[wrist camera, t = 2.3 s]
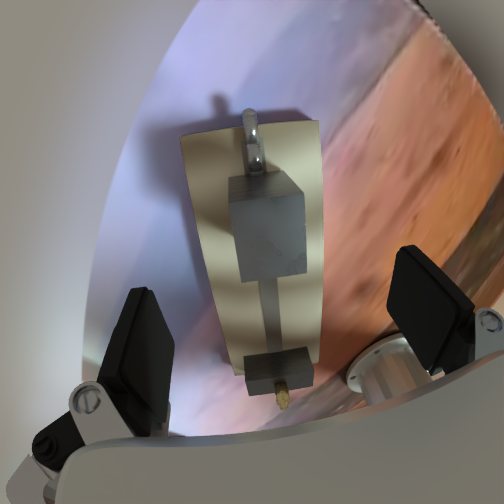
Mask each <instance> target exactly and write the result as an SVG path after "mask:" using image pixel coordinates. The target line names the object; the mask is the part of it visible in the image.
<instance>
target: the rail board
mask: <svg viewBox="0 0 504 504" xmlns="http://www.w3.org/2000/svg"><path fill="white" fill-rule="evenodd" d="M258 129H259V138H260V146H261V155H262V163H263V172H272V171H281V170H284V171H285V173H286V174H287V175H288V176H289V177H290V178H291V179H292V180H293V181H294V182H295V183H296V184H297V186H298V187H299V188H300V189H301V190H302V191H303V192H304V196H305V216H306V242H307V273H305V274H299V275H292V276H286V277H279V278H273V279H266V280H259V281H252V282H245V283H241V278H240V272H239V266H238V260H237V254H236V248H235V242H234V236H233V230H232V224H231V218H230V212H229V206H228V177H234V176H241V175H248V174H250V173H249V168H248V160H247V152H246V144H245V137H244V129H243V126H238V127H231V128H224V129H218V130H211V131H206V132H200V133H194V134H189V135H184V136H181V137H179V138H180V143H181V149H182V155H183V160H184V166H185V171H186V176H187V181H188V186H189V191H190V196H191V201H192V206H193V211H194V216H195V220H196V225H197V230H198V234H199V239H200V243H201V248H202V252H203V256H204V261H205V265H206V269H207V273H208V277H209V281H210V286H211V290H212V294H213V298H214V301H215V305H216V309H217V313H218V317H219V321H220V324H221V328H222V332H223V336H224V339H225V343H226V346H227V350H228V354H229V357H230V361H231V364H232V368H233V371H234V374H235V376H237V375H245V371H244V359H243V356H249V355H256V354H263V353H274V352H281V351H283V350H289V349H294V348H300V347H305V346H307V349H308V352H309V355H310V359H311V362H312V364H314V363H318V361H319V349H320V335H321V318H322V297H323V259H324V221H323V183H322V161H321V145H320V131H319V121H318V120H301V121H286V122H274V123H264V124H258Z"/></svg>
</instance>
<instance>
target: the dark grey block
mask: <svg viewBox="0 0 504 504" xmlns="http://www.w3.org/2000/svg"><path fill="white" fill-rule="evenodd" d="M242 122H243V129H244V137H245V144H246V152H247V160H248V168H249V173H250V174H248V175H241V176H234V177H228V206H229V212H230V218H231V224H232V230H233V236H234V242H235V248H236V254H237V260H238V266H239V272H240V278H241V283H245V282H252V281H259V280H266V279H273V278H279V277H286V276H292V275H299V274H305V273H307V242H306V216H305V196H304V192H303V191H302V190H301V189H300V188H299V187H298V186H297V184H296V183H295V182H294V181H293V180H292V179H291V178H290V177H289V176H288V175H287V174H286V173H285V171H284V170H281V171H272V172H263V163H262V155H261V146H260V138H259V129H258V121H257V114H256V111H255V110H254V109H252V108H247V109H245V110H244V111H243V112H242Z"/></svg>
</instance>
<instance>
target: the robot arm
mask: <svg viewBox="0 0 504 504" xmlns="http://www.w3.org/2000/svg"><path fill="white" fill-rule="evenodd" d="M386 306H387V311H388V312H389V314H390V316H391V317H392V319H393V320H394V322H395V323H396V325H397V326H398V328H399V329H400V331H401V333H398V334H394V335H391V336H388V337H386V338H384V339H382V340H380V341H378V342H376V343H374V344H373V345H371V346H370V347H368V348H367V349H366V350H364V351H363V352H362V353H361V354H360V355H359V356H358V357H357V358H356V359H355V360H354V361H353V362H352V364H351V365H350V367H349V368H348V370H347V373H346V381H347V384H348V386H349V388H350V389H351V390H353V391H356V392H362V393H363V395H364V398H365V400H366V403H367V407H364V408H361V409H358V410H354V411H351V412H347V413H344V414H340V415H336V416H333V417H329V418H325V419H320V420H316V421H312V422H307V423H302V424H297V425H292V426H287V427H281V428H275V429H268V430H262V431H254V432H246V433H236V434H225V435H211V436H192V437H149V436H150V435H151V430H162V423H165V422H166V420H167V411H168V400H169V391H170V382H171V373H172V365H173V357H174V349H175V346H174V340H173V338H172V336H171V333H170V331H169V329H168V327H167V324H166V322H165V320H164V317H163V315H162V313H161V310H160V308H159V305H158V303H157V300H156V298H155V295H154V293H153V291H152V290H148V288H147V287H139V288H132V289H131V290H130V292H129V294H128V297H127V299H126V302H125V304H124V307H123V309H122V312H121V315H120V317H119V320H118V323H117V325H116V326H115V328H114V331H113V333H112V336H111V339H110V342H109V344H108V347H107V350H106V353H105V356H104V359H103V362H102V365H101V368H100V372H99V375H98V378H97V381H96V382H92V381H89V382H84V383H82V384H80V385H79V386H78V387H76V388H75V389H74V391H73V392H72V393H71V396H70V398H69V408H70V410H69V411H68V412H67V413H65V414H64V415H62V416H61V417H60V418H58V419H57V420H55V421H54V422H53V423H51V424H50V425H48V426H47V427H46V428H44V429H43V430H41V431H40V432H39V433H38V434H37V435H36V436H35V438H34V440H33V443H32V452H33V455H32V456H31V455H30V454H28V455H27V457H26V458H25V459H24V461H23V462H22V463H21V465H20V466H19V467H18V469H17V470H16V471H15V473H14V474H13V475H12V477H11V478H10V480H9V481H8V483H7V485H6V493H7V497H8V499H9V501H10V502H11V504H504V319H503V317H502V316H501V315H500V314H499V313H498V312H496V311H495V310H493V309H490V308H481V309H479V310H478V311H477V312H476V314H475V313H474V312H473V310H474V308H475V305H474V304H473V303H472V302H471V300H470V299H469V298H468V297H467V296H466V295H465V294H464V293H463V292H462V291H461V290H460V289H459V288H458V286H457V285H456V284H455V283H454V282H453V281H452V280H451V279H450V278H449V277H448V276H447V275H446V274H445V273H444V272H443V271H442V270H441V269H440V268H439V267H438V266H437V265H436V264H435V263H434V262H433V261H432V260H431V259H429V258H428V257H427V256H426V255H425V254H424V253H423V252H422V251H421V250H420V249H419V248H418V247H417V246H415V245H408V246H403V247H401V248H400V250H399V251H398V252H397V254H396V259H395V265H394V270H393V276H392V281H391V285H390V290H389V295H388V299H387V304H386ZM442 370H443V371H444V372H445V376H443V377H441V378H439V379H437V380H435V381H433V380H432V378H431V376H433V375H435V374H438V373H440V372H441V371H442ZM428 372H429V373H428ZM429 374H430V375H429Z"/></svg>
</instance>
